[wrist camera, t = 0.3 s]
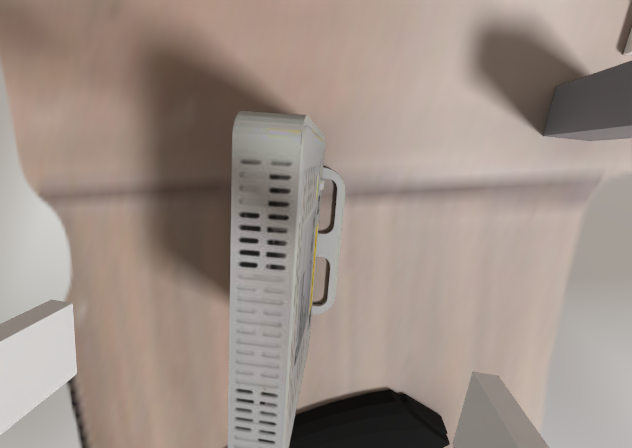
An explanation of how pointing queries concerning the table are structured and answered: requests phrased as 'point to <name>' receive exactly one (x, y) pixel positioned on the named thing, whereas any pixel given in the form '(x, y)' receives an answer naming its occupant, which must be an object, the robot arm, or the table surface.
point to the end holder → (629, 45)
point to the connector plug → (593, 106)
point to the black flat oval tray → (370, 424)
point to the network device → (275, 269)
